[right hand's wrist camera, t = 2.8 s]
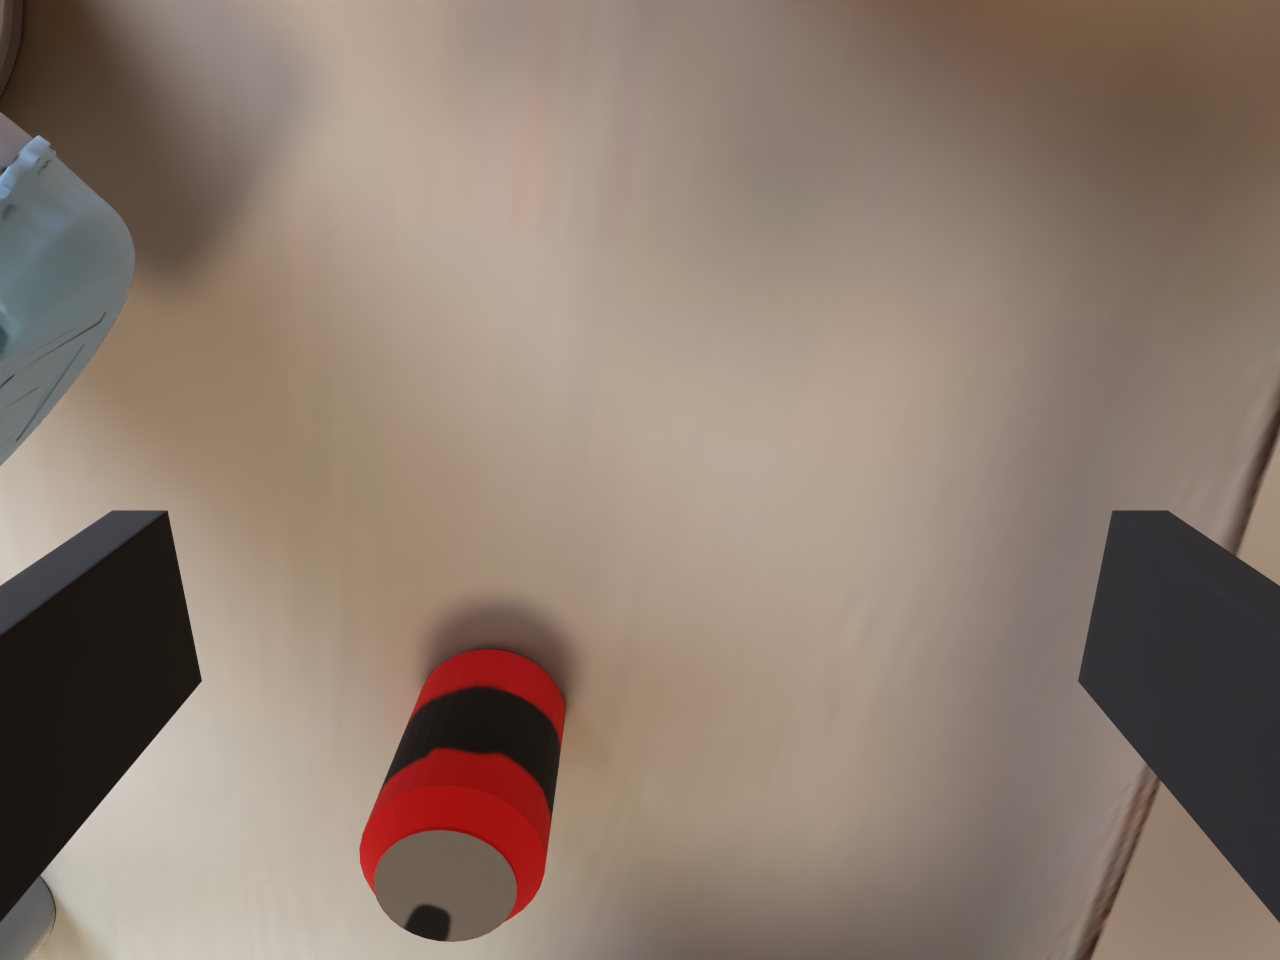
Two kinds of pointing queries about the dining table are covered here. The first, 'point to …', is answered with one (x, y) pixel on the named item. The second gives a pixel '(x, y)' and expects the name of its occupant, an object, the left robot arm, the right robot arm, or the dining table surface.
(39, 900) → the jar
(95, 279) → the left robot arm
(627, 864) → the dining table surface
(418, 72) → the dining table surface
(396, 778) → the soda can
